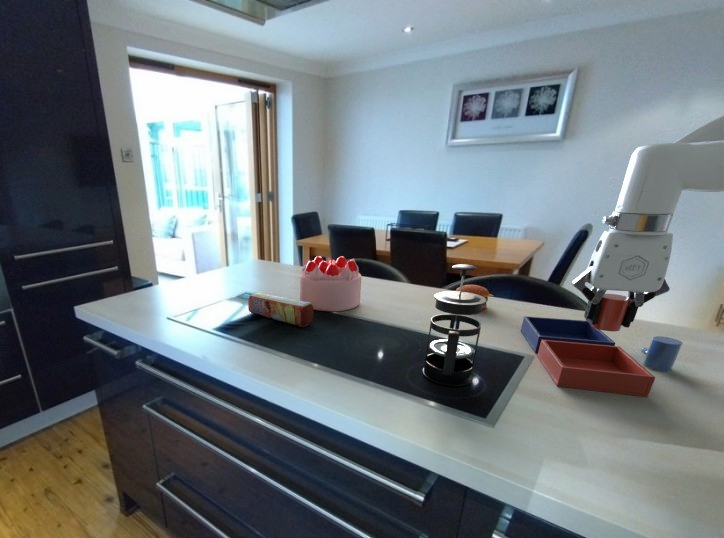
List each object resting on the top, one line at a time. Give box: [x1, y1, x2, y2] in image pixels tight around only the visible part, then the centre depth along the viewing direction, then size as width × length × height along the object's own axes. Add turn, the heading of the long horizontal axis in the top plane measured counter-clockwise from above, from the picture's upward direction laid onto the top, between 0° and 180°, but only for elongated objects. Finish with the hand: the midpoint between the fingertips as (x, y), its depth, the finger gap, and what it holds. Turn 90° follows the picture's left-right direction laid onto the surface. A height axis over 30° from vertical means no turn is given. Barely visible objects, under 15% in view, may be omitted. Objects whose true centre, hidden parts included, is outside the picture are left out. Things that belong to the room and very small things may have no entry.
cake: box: [299, 255, 362, 312], centre depth 125 cm, size 20×20×14 cm
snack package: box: [247, 292, 314, 328], centre depth 113 cm, size 21×7×7 cm, turn 48°
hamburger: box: [455, 284, 495, 311], centre depth 120 cm, size 9×10×7 cm
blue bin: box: [520, 315, 616, 354], centre depth 92 cm, size 14×14×4 cm
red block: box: [591, 293, 631, 332], centre depth 74 cm, size 9×4×6 cm, turn 161°
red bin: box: [537, 340, 656, 398], centre depth 78 cm, size 14×14×4 cm
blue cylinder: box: [640, 335, 683, 372], centre depth 82 cm, size 9×4×6 cm, turn 161°
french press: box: [422, 263, 487, 388], centre depth 75 cm, size 12×9×23 cm
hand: (606, 322), depth 73 cm, fingers closed on red block, 4 cm apart
